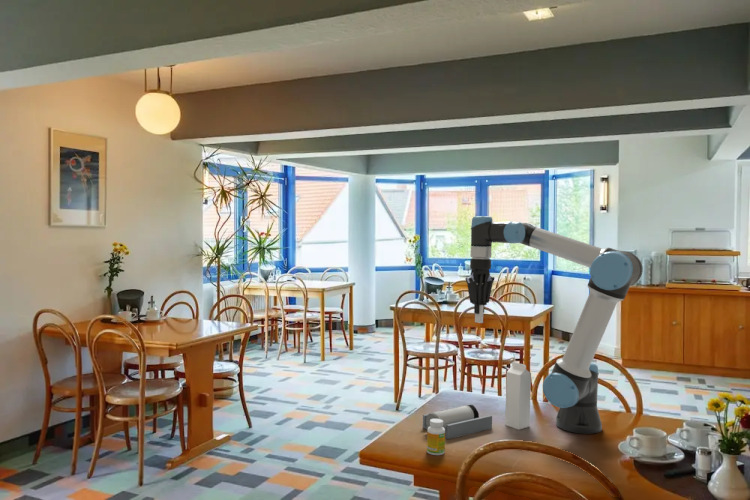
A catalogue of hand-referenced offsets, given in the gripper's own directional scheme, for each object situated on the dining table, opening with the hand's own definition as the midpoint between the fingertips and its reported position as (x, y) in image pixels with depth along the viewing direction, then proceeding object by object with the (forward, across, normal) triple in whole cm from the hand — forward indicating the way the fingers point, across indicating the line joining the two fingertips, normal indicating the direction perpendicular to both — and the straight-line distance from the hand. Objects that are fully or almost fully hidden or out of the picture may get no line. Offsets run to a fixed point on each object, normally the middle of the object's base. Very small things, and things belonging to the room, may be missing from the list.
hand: (478, 322), depth 211 cm
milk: (+35, -4, +16) cm, 38 cm away
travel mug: (+31, +28, +7) cm, 42 cm away
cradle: (+34, +16, +7) cm, 39 cm away
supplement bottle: (+35, +37, +20) cm, 54 cm away
